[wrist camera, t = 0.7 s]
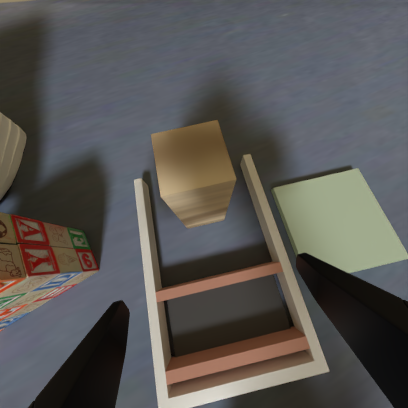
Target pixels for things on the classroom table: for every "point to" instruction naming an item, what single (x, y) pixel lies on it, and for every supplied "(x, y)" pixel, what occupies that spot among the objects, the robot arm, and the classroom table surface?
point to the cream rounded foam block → (10, 152)
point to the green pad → (338, 222)
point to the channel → (243, 375)
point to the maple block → (194, 172)
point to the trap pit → (228, 322)
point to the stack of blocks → (38, 264)
